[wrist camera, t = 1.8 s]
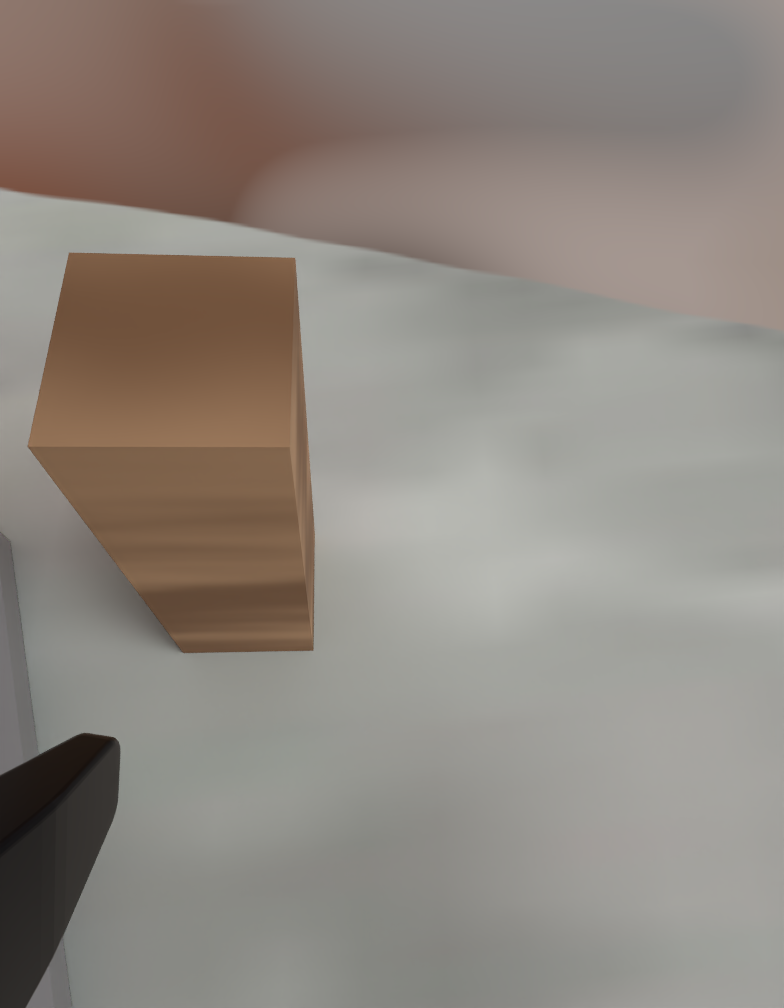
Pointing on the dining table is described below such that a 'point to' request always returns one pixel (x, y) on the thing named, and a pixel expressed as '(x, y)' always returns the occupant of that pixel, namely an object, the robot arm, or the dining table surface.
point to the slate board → (22, 743)
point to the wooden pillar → (188, 439)
